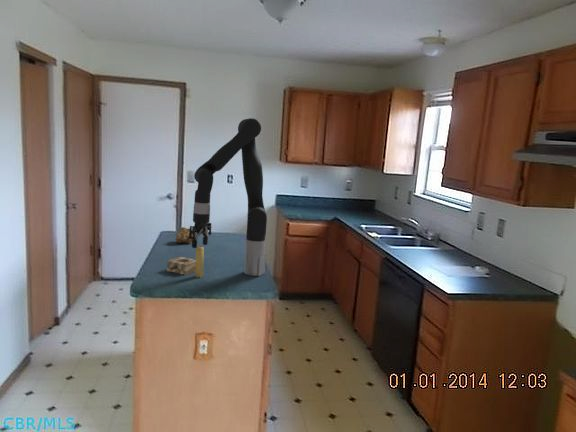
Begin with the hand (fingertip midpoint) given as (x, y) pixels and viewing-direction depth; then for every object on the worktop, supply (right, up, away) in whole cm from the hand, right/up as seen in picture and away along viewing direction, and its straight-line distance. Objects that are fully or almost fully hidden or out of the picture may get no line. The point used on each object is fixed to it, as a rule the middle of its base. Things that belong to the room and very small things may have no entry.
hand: (199, 246), depth 208 cm
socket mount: (-11, -13, +8) cm, 18 cm away
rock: (-22, -3, +64) cm, 68 cm away
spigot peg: (-1, -14, +2) cm, 15 cm away
